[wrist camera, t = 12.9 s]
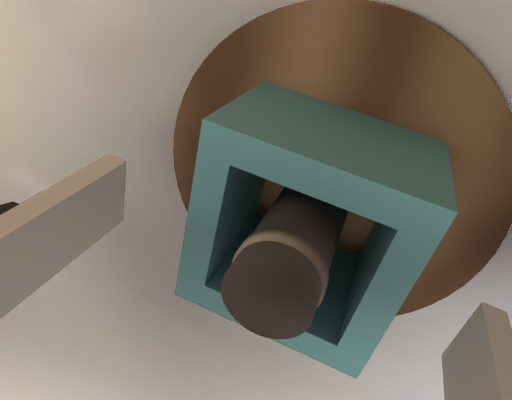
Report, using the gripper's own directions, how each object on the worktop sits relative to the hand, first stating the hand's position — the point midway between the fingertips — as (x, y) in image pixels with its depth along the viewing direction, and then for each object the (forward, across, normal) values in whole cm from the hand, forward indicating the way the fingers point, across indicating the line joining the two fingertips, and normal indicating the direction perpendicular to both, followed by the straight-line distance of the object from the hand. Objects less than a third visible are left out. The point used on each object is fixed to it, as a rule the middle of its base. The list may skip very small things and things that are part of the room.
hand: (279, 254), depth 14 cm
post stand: (+7, 0, 0) cm, 7 cm away
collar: (+6, 0, 0) cm, 6 cm away
